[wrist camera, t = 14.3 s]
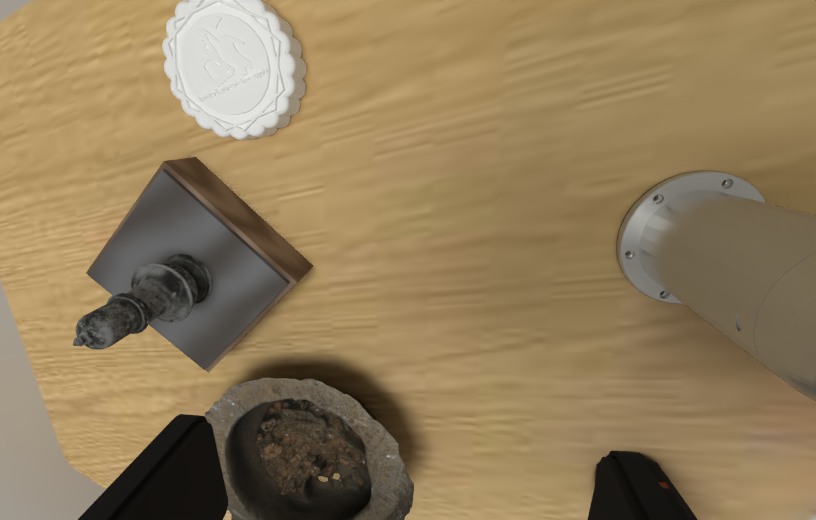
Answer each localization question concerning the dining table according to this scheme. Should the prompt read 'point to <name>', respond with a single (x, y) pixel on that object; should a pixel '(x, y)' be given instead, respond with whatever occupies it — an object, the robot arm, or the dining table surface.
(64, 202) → the dining table surface
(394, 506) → the stone bowl
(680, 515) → the portable speaker
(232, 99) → the mooncake
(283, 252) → the walnut base
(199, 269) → the black chess piece
